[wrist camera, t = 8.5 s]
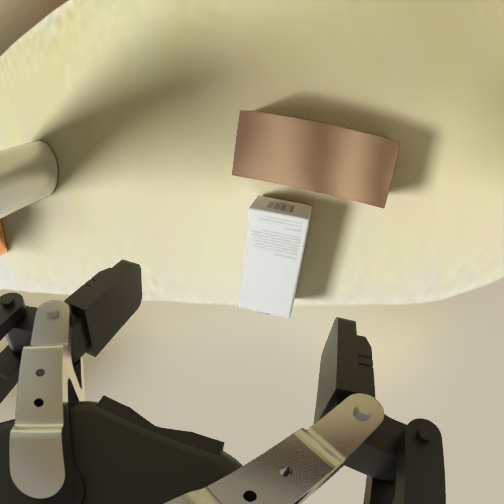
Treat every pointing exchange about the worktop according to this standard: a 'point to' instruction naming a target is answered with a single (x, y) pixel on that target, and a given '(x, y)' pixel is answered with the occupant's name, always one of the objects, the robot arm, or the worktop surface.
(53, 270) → the worktop surface
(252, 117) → the walnut ledge
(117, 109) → the worktop surface
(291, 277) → the skincare box
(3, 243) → the whiskey bottle
